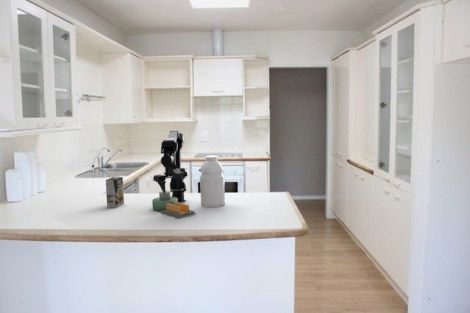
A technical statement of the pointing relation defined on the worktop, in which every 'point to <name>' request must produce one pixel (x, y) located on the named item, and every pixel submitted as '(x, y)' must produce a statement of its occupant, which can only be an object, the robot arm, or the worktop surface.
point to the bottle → (212, 183)
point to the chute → (177, 208)
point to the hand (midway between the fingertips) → (171, 191)
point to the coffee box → (114, 192)
